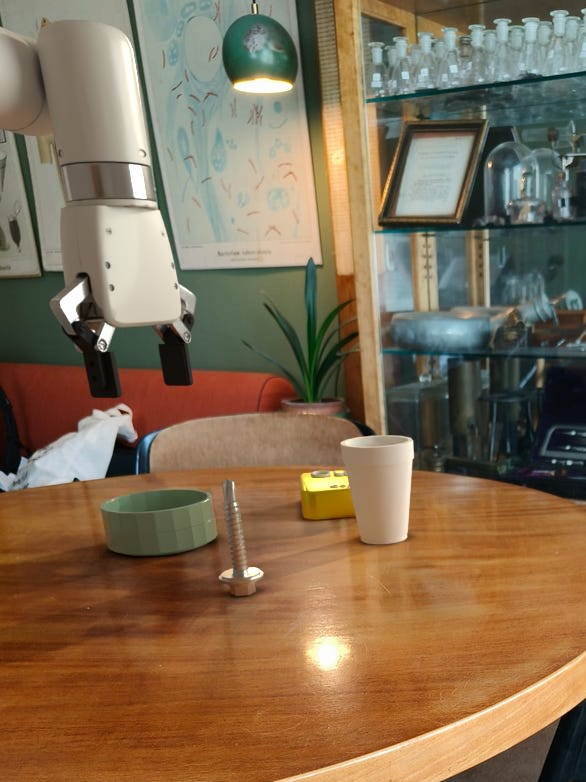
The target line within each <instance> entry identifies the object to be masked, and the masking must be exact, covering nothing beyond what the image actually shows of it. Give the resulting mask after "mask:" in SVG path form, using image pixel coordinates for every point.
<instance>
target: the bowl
mask: <svg viewBox="0 0 586 782" xmlns="http://www.w3.org/2000/svg"><path fill="white" fill-rule="evenodd" d="M99 508H100V513H101V518H102V524H103V529H104V534H105V539H106V543H107V549H108V550H110V551H111V552H114V553H116V554H117V553H118V554H122V555H126V556H133V557H157V556H167V555H174V554H180V553H184V552H187V551H192V550H195V549H198V548H200V547H203V546H205V545H207V544H209V543H210V542H212V541H214V540H215V539H216V538H217V536H218V534H219V533H218V528H217V520H216V513H215V505H214V500H213V495H212V494H211V493H210V492H209V491H206V490H203V489H193V488H165V489H154V490H153V489H152V490H144V491H138V492H133V493H127V494H122V495H119V496H115V497H112V498H110V499H107V500H105V501H104V502H102V503H101V504H100V505H99Z"/></svg>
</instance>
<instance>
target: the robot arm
mask: <svg viewBox="0 0 586 782" xmlns="http://www.w3.org/2000/svg"><path fill="white" fill-rule="evenodd" d="M137 73H138V72H137V68H136V61H135V56H134V49H133V48H132V44H131V42H130V40H129V38H128V37H127V35H126V34H125V33H124V32H123V31H121V30H120V29H119V28H117V27H116V26H113V25H110V24H108V23H105V22H102V21H101V22H100V21H96V20H89V19H59V20H55V21H51V22H49V23H46V24H44V25H43V26H42V27H41V28H40V29H39V31H38V33H37V37H36V39H34V38H33V37H32V38H31V37H29V36H26V35H22V34H19V33H17V32H13V31H11V30H9V29H7V28H4V27H2V26H0V130H2V131H7V132H11V133H13V134H19V135H22V136H27V137H44V136H49V135H53V139H54V144H55V149H56V155H57V160H58V165H59V170H60V175H61V181H62V187H63V191H64V192H63V193H64V197H65V201H66V206H64V207H61V208H60V219H59V220H60V222H59V223H60V225H59V227H60V229H59V230H60V231H59V232H60V233H59V234H60V237H59V238H60V252H61V262H62V271H63V279H64V285H65V287H64V288H63V289H61V290H60V291H59V292H58V293H57V294H55V296H53V297H52V298H51V299H50V301H49V307H50V309H51V311H52V313H53V314H54V316H55V318H56V320H57V321H58V322H59V324H60V325H61V330H62V332H63V334H65V336H66V337H67V338H68V339H69V340H70V341H71V342H72V343H73V345H74V348H75V350H76V352H78V353H82V358H83V362H84V368H85V373H86V378H87V383H88V388H89V393H90V396H91V397H92V398H94V399H119V398H121V397H122V395H123V390H122V385H121V379H120V375H119V367H118V363H117V359H116V354H115V351H113V350H108V349H109V347H110V344H111V342H112V339H113V336H114V334H115V332H116V331H115V330H116V329H117V328H131V327H132V328H135V327H137V328H138V327H148V326H150V327H151V329H153V330H154V332H155V333H156V335H157V336H158V337H159V338H160V340H161V341H162V342H163V343H158V345H157V346H158V353H159V361H160V365H161V373H162V379H163V383H164V385H166V386H167V387H189V386H190V387H191V386H193V384H194V377H193V370H192V364H191V359H190V358H191V357H190V351H189V345H188V344H189V343H191V342H192V333H191V331H192V329H193V327H194V325H195V317H194V316H195V311H196V306H197V297H196V295H195V294H194V293H193V292H192V291H190V290H189V289H187V288H186V287H185V286H183V285H181V283H179V281H178V276H177V270H176V264H175V261H174V255H173V251H172V247H171V243H170V240H169V236H168V233H167V229H166V226H165V222H164V219H163V217H162V213H161V210H160V209H158V201H157V196H156V194H157V188H156V185H155V183H154V176H153V170H152V164H151V158H150V151H149V144H148V137H147V131H146V125H145V117H144V112H143V107H142V100H141V99H142V98H141V94H140V85H139V80H138V74H137Z"/></svg>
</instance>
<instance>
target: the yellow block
mask: <svg viewBox="0 0 586 782" xmlns="http://www.w3.org/2000/svg"><path fill="white" fill-rule="evenodd" d="M298 482H299V483H298V485H299V495H300V503H301V513H302V517H303V518H304V519H306V520H310V521H319V520H331V519H342V518H346V519H347V518H356V515H355V510H354V506H353V501H352V496H351V492H350V487H349V483H348V478H347V473H346V469H341V470H327V469H319V470H314V471H311V472H304V473H301V474H300V475H299V476H298Z"/></svg>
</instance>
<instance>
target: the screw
mask: <svg viewBox="0 0 586 782" xmlns="http://www.w3.org/2000/svg"><path fill="white" fill-rule="evenodd" d="M221 487H222V495H223V501H224V502H223V503H222V505H224V508H222V510H223V511H224V513H223V516H225V519H224V521H226V523H225V526H226V528H227V529H226V530H225V531H226V532H227V535H226V537H228V540H227V542H228V543H229V545H228V547H229V550H228V552H229V553H230V555H229V557H230V558H231V560H230V563H231V564H232V565H231V566H230V567H231V568H229V569H227V570H224V571H223V572H222V573H221V574H220V575H219V576H218V581H219V583H221V584H225V585H227V586H229V590H230V594H232V595H233V596H235V597H246V596H250V595H252V594H254V593H256V592H257V588H256V583H257V581H260V580H261V579H262V578H263V577H264V572H263V570H261V569H260V568H257V567H254V566H249V565H247V564H249V561H248V560H247V559H248V556H247V555H246V554H247V550H245V549H246V548H247V546H246V545H245V543H246V540H245V539H244V538H245V535H244V530H243V527H244V525H243V524H242V522H243V520H242V519H241V517H242V514H241V511H242V510H241V508H240V506H241V504H240V503H238V500H237V492H236V484H235V481H233V480H231V479H229V478H226V479H225V480H224V481H223V482H221Z"/></svg>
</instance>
